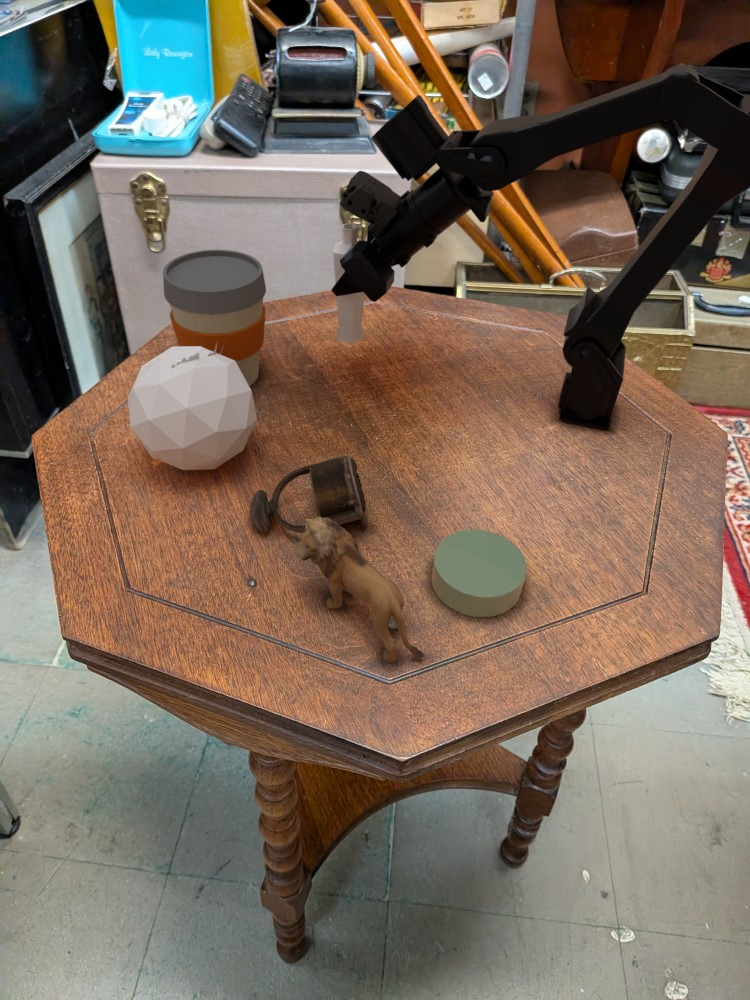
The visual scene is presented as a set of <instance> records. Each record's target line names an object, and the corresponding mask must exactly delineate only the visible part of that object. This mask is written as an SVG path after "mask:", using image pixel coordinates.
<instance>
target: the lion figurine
mask: <svg viewBox="0 0 750 1000" xmlns="http://www.w3.org/2000/svg"><path fill="white" fill-rule="evenodd" d="M305 521H306V524H305V525H306V526H305V525H304V526H305V532H303V534H302V535H301V536H302V537H301V540H300V541H299V542H298V543H297V544H295V545H294V546H293V548H292V551H293V553H294V554H295V555H296V556H297V558H299V559H300V560H301V562H306V561H307V560H310V562H311V563H312V564H314V565H316V566H318V567H319V570H320V573H321V574H322V575H323V576H324V577H325V578H326V579H327V580H328V585H329V591H330V593H331V596H332V597H330V598H328V599H327V601H326V606H327V609H330V610H337V609H339V608H341V607H342V605H343V596H342V593H343V591H345V592H347V593H350V594H351V595H352V596H353V597H354V598H355V599H357V600H358V601H360V602H361V603H364V604H366V605H369V613H370V614H369V615H370V618H371V621H372V625H373V628H374V630H375V632H376V634H377V635H378V637H379V639H380V640H381V642H382V643H383V645H384V647H385V648H386V649H384V650H383V653H382V657H383V660H384V661H385V662H386V663H393V662H395V660H397V658H398V656H399V655H398V650H397V645H396V642H394V640H393V639H392V636H391V632H390V629H397V630H398V633H399V636H400V639H401V642H402V644H403V646H404V647H405V648H406V649H407V650H408V651H409V652H410V653H411V654H412V655H413V656H414V658H418V659H424V658H425V656H426V655H425V653H424V652H423V651H422V650H421V649H419V648H418V647H417V646H414V645H413V644H411V643H410V642H409V640H408V636H407V632H406V627H405V622H404V616H403V607H404V605H405V601H404V596H403V594H402V592H401V591H400V589H399V588H398V586H397V584H396V583H395V582H394V581H393V580H391V579H390V578H388V577H386V576H384V575H383V574H382V573H381V572H380V571H379V570H378V569H377V568H376V567H375V566H374V565H373V563H371V562H370V561H368V559H366V558H365V557H364V556H363V554H362V552H361V551H360V547H359V545H358V542H357V540H356V539H354V538H353V535H352V534H351V533H349V532H348V531H346V529H345V528H344V527H343V526H341V525H338V523H337V522H335V521H332V520H331V519H329V518H322V517H320V516H316V517H311V518H310V519H308V518H306V519H305Z"/></svg>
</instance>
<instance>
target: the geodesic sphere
mask: <svg viewBox="0 0 750 1000" xmlns="http://www.w3.org/2000/svg"><path fill="white" fill-rule="evenodd" d="M216 344H217V342H216ZM216 349H217V345H216V347H215V350H214V352H213V351H210V350H208V349H206V348H203V347H201V346H180V347H179V346H170V347H169V348H168V349H166V350H164V351H163V352H161V353H160V354H158V355H157V356H155V357H154V358H152V359H150V360H149V361H147V362H146V363H144V364H142V365H141V367H140V370H139V372H138V374H137V376H136V378H135V380H134V382H133V384H132V387H131V389H130V392H129V394H128V396H127V405H128V417H129V427H130V429H131V430H132V431H133V433H134V435H135V436H136V437H137V439H138V440H139V441H140V443H141V444H142V446H143V447H144V449H145V450H146V451H147V453H148V454H149V456H150V457H151V458H153V459H155V460H158V461H160V462H163V463H165V464H168V465H170V466H172V467H175V468H177V469H179V470H182V471H197V470H198V471H201V470H202V471H203V470H204V471H206V470H215V469H217V468H218V467H220V466H222V465H223V464H225V463H227V462H228V461H229V460H231V459H232V458H233V457H236V456H237V455H238V454H239V453H241V452H243V451H244V449H245V447H246V445H247V443H248V440H249V439H250V436H251V434H252V431H253V430H254V427H255V425H256V423H257V421H258V417H257V412H256V406H255V400H254V395H253V390H252V389H251V386H249V385H248V383H247V382H246V380H245V378H244V376H243V374H242V372H241V371H240V369H239V367H238V365H237V363H236V362H235V360H232V359H230V358H227V357H225V356H222V355H220V354H221V352H220V354H218V353H216ZM222 349H223V347H222ZM221 351H222V350H221Z"/></svg>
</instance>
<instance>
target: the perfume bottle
mask: <svg viewBox="0 0 750 1000" xmlns="http://www.w3.org/2000/svg"><path fill="white" fill-rule="evenodd" d="M359 228H360V226H359V225H357V224H356V223H353V222H351V223H342V225H341V230H342V240H340V241H337V242H335V243H334V244H333V250H332V255H333V256H332V257H333V258H332V259H333V267H334V268H333V269H334V270H333V271H334V285H335V284H336V283H337V281H338V280H339V279H340V277H341V276H342V275H343V273H344V272H345V270H344V269H343V268H342V267H341V264H340V259H341V258H342V257H343V256H344V254H345V253H346V252H347V251H348V250H349V249H350V248H351V246H352V245H353V244H355V243H357V242H358V241H359V240H358V237H359V236H358V235H359V234H358V233H359ZM365 296H366V295H365V293H364V292H360V293H354V294H348V295H342V296H335V297H336V310H337V319H338V320H337V322H338V323H337V324H338V328H337V331H336V341H337V342H342V343H347V344H352V345H353V344H356V343H358V342H359V341H360V340H363V339H364V338H365V334H364V331H363V327H362V325H363V316H364V315H363V314H364V304H365Z"/></svg>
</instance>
